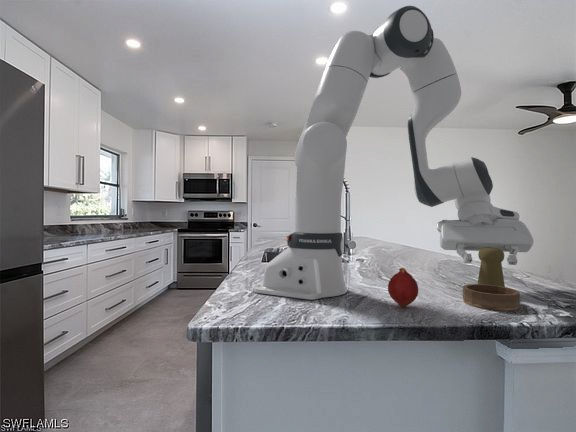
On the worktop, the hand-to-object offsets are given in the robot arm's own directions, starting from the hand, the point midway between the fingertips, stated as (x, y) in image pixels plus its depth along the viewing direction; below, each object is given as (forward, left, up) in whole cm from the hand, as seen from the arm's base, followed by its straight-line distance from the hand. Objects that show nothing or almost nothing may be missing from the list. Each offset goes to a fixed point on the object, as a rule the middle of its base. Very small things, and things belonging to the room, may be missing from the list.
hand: (490, 262), depth 77 cm
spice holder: (-3, -10, -7) cm, 13 cm away
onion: (-21, -17, -8) cm, 28 cm away
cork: (0, 0, -8) cm, 8 cm away
